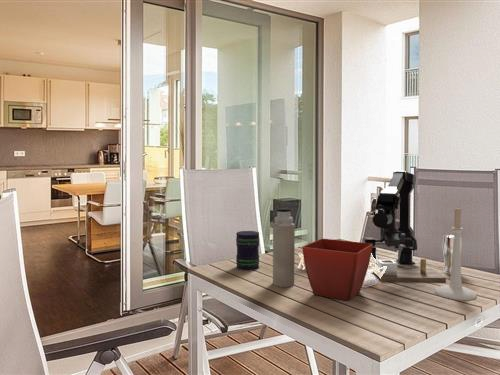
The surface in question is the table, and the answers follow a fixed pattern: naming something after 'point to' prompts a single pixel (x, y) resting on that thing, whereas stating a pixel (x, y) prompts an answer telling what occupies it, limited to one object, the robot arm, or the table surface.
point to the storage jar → (247, 250)
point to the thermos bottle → (283, 249)
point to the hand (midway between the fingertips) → (387, 263)
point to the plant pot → (336, 267)
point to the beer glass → (449, 252)
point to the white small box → (388, 266)
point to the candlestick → (456, 268)
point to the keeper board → (415, 275)
